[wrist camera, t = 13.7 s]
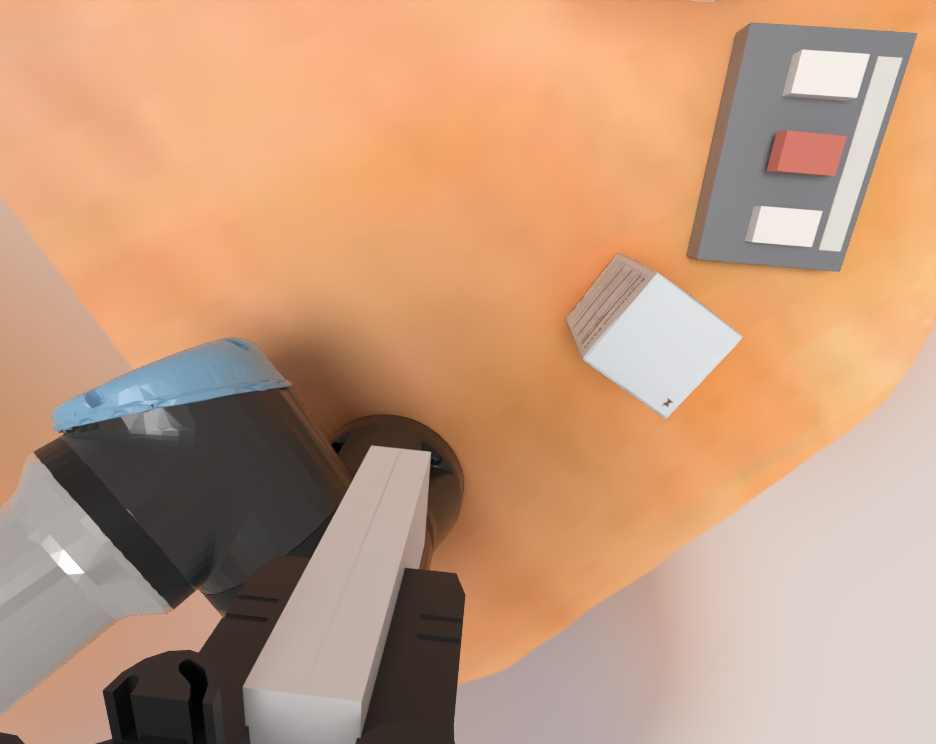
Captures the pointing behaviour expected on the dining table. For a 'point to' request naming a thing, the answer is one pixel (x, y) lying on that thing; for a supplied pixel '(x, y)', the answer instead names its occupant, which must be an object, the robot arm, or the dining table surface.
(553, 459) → the dining table surface
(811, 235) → the breaker panel
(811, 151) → the block
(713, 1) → the milk
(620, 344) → the supplement box
